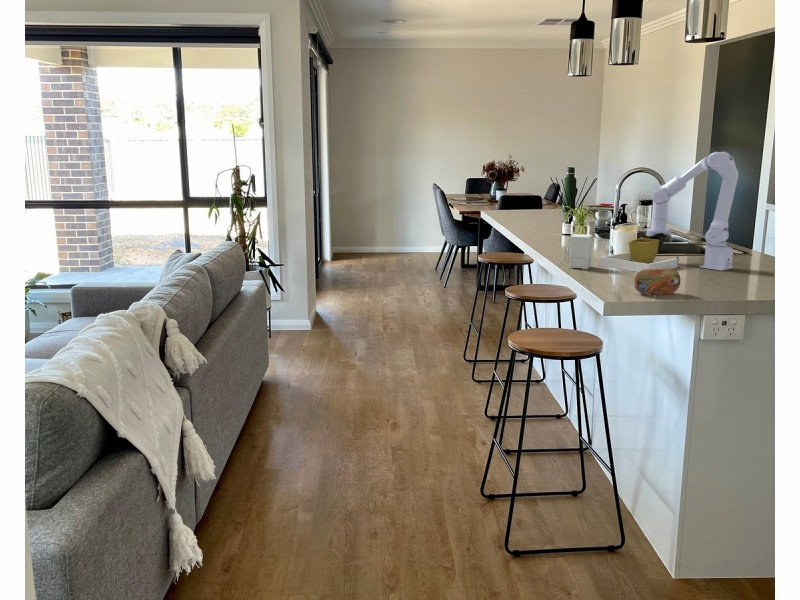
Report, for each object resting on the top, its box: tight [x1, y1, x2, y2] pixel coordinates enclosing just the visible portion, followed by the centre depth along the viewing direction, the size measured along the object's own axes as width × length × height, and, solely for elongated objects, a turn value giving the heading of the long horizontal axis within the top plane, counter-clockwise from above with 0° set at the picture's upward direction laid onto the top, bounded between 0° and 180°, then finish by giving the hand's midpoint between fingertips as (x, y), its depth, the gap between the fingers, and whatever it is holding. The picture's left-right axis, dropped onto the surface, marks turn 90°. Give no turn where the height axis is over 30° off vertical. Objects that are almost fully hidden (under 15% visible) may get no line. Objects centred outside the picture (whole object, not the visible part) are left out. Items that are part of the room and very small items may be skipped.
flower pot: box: [628, 237, 659, 264], centre depth 279 cm, size 9×9×9 cm
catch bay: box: [598, 249, 680, 273], centre depth 272 cm, size 22×21×4 cm
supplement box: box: [568, 233, 593, 270], centre depth 269 cm, size 7×7×13 cm
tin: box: [633, 268, 681, 296], centre depth 223 cm, size 15×3×8 cm, turn 100°
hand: (656, 252), depth 282 cm, fingers closed
